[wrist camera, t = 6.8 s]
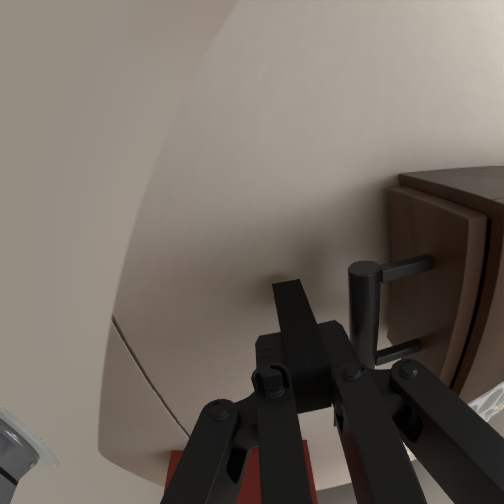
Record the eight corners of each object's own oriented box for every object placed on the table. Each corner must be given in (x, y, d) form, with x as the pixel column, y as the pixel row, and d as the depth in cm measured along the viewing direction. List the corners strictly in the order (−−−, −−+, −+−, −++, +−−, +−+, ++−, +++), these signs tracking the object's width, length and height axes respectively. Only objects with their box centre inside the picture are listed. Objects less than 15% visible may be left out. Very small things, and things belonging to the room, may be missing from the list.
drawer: (331, 352, 18) (359, 430, 11) (317, 198, 14) (371, 239, 8) (498, 293, 17) (545, 333, 11) (511, 175, 13) (575, 195, 7)
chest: (204, 485, 28) (200, 530, 21) (171, 450, 24) (161, 508, 17) (310, 476, 27) (318, 523, 20) (306, 439, 23) (317, 503, 16)
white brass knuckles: (394, 455, 27) (414, 399, 22) (488, 406, 26) (520, 339, 21) (400, 473, 24) (426, 422, 19) (497, 420, 23) (533, 353, 18)
